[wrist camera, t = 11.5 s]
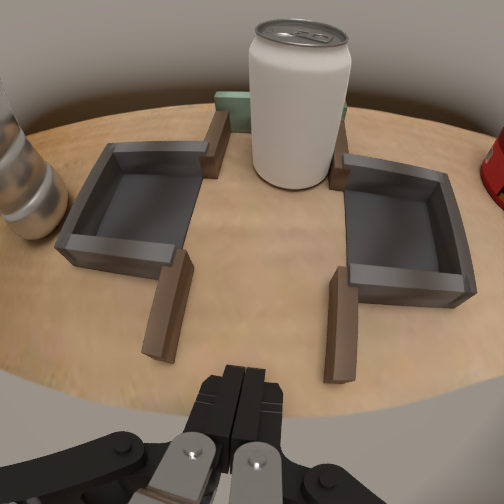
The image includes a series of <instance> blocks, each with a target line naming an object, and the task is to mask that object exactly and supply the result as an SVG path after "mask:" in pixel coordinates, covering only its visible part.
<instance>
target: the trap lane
mask: <svg viewBox="0 0 504 504" xmlns="http://www.w3.org/2000/svg"><path fill="white" fill-rule="evenodd" d="M214 100H215V107H216V112H215V114H214V117H213V119H212V122H211V124H210V127H209V129H208V132H207V134H206V137H205V140H204V141H146V142H123V143H108V144H107V145H106V147H105V149H104V150H103V152H102V153H101V155H100V157H99V158H98V160H97V162H96V164H95V165H94V167H93V169H92V170H91V172H90V174H89V176H88V178H87V179H86V181H85V183H84V185H83V187H82V189H81V191H80V192H79V194H78V196H77V198H76V200H75V202H74V204H73V206H72V208H71V210H70V212H69V214H68V217H67V219H66V221H65V223H64V225H63V227H62V230H61V232H60V234H59V236H58V239H57V241H56V243H55V246H54V248H55V249H56V250H57V251H58V252H60V253H61V254H62V255H63V256H64V257H65V258H66V259H67V260H68V261H69V262H70V263H71V264H72V265H73V266H77V267H82V268H88V269H94V270H100V271H105V272H111V273H118V274H124V275H130V276H136V277H143V278H149V279H156V280H159V281H158V284H157V288H156V292H155V296H154V300H153V304H152V308H151V312H150V316H149V320H148V324H147V328H146V333H145V337H144V341H143V346H142V351H141V353H143V354H145V355H147V356H149V357H151V358H154V359H156V360H160V361H165V362H169V363H174V360H175V355H176V350H177V345H178V340H179V335H180V330H181V325H182V321H183V316H184V311H185V307H186V302H187V298H188V293H189V289H190V284H191V280H192V276H193V272H194V266H193V264H192V262H191V260H190V257H189V255H188V253H187V251H186V250H182V248H183V244H184V241H185V237H186V233H187V230H188V226H189V223H190V220H191V216H192V213H193V209H194V206H195V203H196V199H197V196H198V193H199V190H200V186H201V183H202V180H203V178H212V179H217V178H218V175H219V171H220V168H221V164H222V161H223V157H224V154H225V151H226V147H227V144H228V141H229V137H230V134H231V132H245V133H252V132H251V106H250V92H216V95H215V97H214ZM346 111H347V105H346V102H344V107H343V112H342V116H341V121H340V126H339V130H338V135H337V139H336V144H335V148H334V152H333V156H332V160H331V164H330V168H329V189H331V190H339V191H344V201H345V219H346V244H347V267H342V266H338V268H337V270H336V272H335V273H334V275H333V277H332V279H331V281H330V286H329V312H328V331H327V346H326V360H325V372H324V383H337V384H344V383H348V382H352V381H355V378H356V362H357V340H358V303H371V304H385V305H401V306H418V307H437V308H456V307H457V306H459V305H460V304H462V303H463V302H465V301H466V300H468V299H469V298H471V297H472V296H474V295H475V294H476V293H477V288H476V282H475V276H474V270H473V265H472V260H471V255H470V251H469V246H468V242H467V238H466V234H465V230H464V226H463V222H462V219H461V215H460V212H459V208H458V205H457V202H456V199H455V195H454V192H453V189H452V186H451V183H450V181H449V178H448V175H447V174H446V173H442V172H438V171H434V170H430V169H425V168H421V167H417V166H412V165H408V164H403V163H398V162H393V161H388V160H383V159H377V158H371V157H366V156H360V155H353V154H349V151H348V144H347V137H346V130H345V123H344V120H345V115H346Z"/></svg>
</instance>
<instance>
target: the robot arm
mask: <svg viewBox="0 0 504 504" xmlns="http://www.w3.org/2000/svg"><path fill="white" fill-rule="evenodd" d="M245 370H246V373H245ZM265 370H266V369H260V368H251V367H247V368H246V367H242V366H234V365H226V367H225V370H224V373H223V377H220V376H214V375H211V376H210V377H208V378H207V379H206V380H205V381H204V382H203V383H202V385H201V388H200V391H199V394H198V396H197V398H196V402H195V403H194V406H193V408H192V411H191V414H190V416H189V419H188V421H187V424H186V426H185V429H184V431H183V433H182V434H180V435H178V436H176V437H175V438H174V439H173V440H172V441H170V442H167V443H143V442H142V440H141V439H140V438H139V437H138V436H136V435H135V434H133V433H130V432H125V431H120V432H114V433H111V434H109V435H106V436H104V437H101V438H98V439H96V440H93V441H90V442H87V443H84V444H81V445H78V446H76V447H72V448H69V449H66V450H63V451H60V452H57V453H54V454H51V455H47V456H43V457H40V458H37V459H33V460H29V461H25V462H21V463H17V464H13V465H9V466H4V467H0V504H212V502H213V500H214V497H215V494H216V491H217V487H218V484H219V480H220V476H221V473H227V474H228V471H229V467H230V474H232V480H231V489H230V498H229V504H386V503H385V502H384V501H383V500H381V499H380V498H378V497H377V496H376V495H375V494H373V493H372V492H371V491H370V490H369V489H367V488H366V487H365V486H364V485H363V484H361V483H360V482H359V481H358V480H356V479H355V478H354V477H353V476H352V475H350V474H349V473H348V472H347V471H346V470H344V469H343V468H342V467H340V466H337V465H334V464H320V465H317V466H315V467H313V468H308V467H305V466H301V465H298V464H296V463H293V462H291V461H290V460H289V459H287V458H286V457H285V456H284V454H283V453H282V450H281V447H280V440H281V424H282V406H283V405H282V404H283V392H282V390H281V388H280V386H279V384H278V383H269V382H264V378H265Z"/></svg>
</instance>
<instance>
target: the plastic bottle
mask: <svg viewBox="0 0 504 504" xmlns="http://www.w3.org/2000/svg"><path fill="white" fill-rule="evenodd" d="M0 80H1V78H0ZM67 203H68V192H67V189H66V186H65V184H64V182H63V179H62V178H61V176H60V175H59V174H58V172H57V171H56V170H55V169H54V168H53V167H52V166H51V165H49V164H48V163H47V162H46V161H44V159H43V158H42V157H41V156H40V154H39V153H38V152H37V151H36V149H35V148H34V147H33V146H32V144H31V143H30V142H29V141H28V139H27V138H26V137H25V135H24V133H23V131H22V129H21V128H20V127H19V124H18V122H17V120H16V118H15V116H14V114H13V112H12V110H11V107H10V105H9V102H8V99H7V96H6V93H5V91H4V87H3V84H2V82H1V81H0V213H1V215H2V217H3V218H4V220H5V222H6V223H7V224H8V226H9V227H10V228H11V230H12V231H13V232H15V233H16V234H18V235H19V236H21V237H23V238H25V239H28V240H33V239H40V238H43V237H45V236H47V235H48V234H50V233H51V232H52V231H53V230H54V229H55V228H56V227H57V226H58V224H59V223H60V222H61V220H62V218H63V216H64V214H65V212H66V209H67Z"/></svg>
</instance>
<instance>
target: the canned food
mask: <svg viewBox="0 0 504 504" xmlns="http://www.w3.org/2000/svg"><path fill="white" fill-rule="evenodd" d="M481 176H482V179H483V182H484V185H485V187H486V189H487V190H488V192H489V193H490V195H491V196H492V198H493V199H494V200H495V201H496V203H497V204H498V205H499V206H500V207H502V208H503V209H504V127H503V129H502V131H501V132H500V134H499V136H498V138H497V139H496V141H495V143H494V144H493V146H492V148H491V149H490V151H489V153H488V154H487V156H486V158H485V159H484V161H483V164H482V167H481Z"/></svg>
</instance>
